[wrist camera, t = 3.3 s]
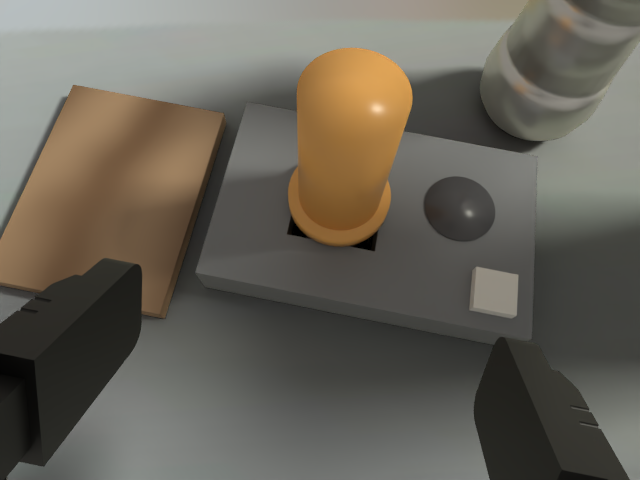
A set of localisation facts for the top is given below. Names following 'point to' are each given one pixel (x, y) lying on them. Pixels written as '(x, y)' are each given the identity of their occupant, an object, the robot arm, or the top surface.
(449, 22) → the top surface
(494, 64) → the plastic bottle
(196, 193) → the board
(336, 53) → the plug
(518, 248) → the grey socket board
